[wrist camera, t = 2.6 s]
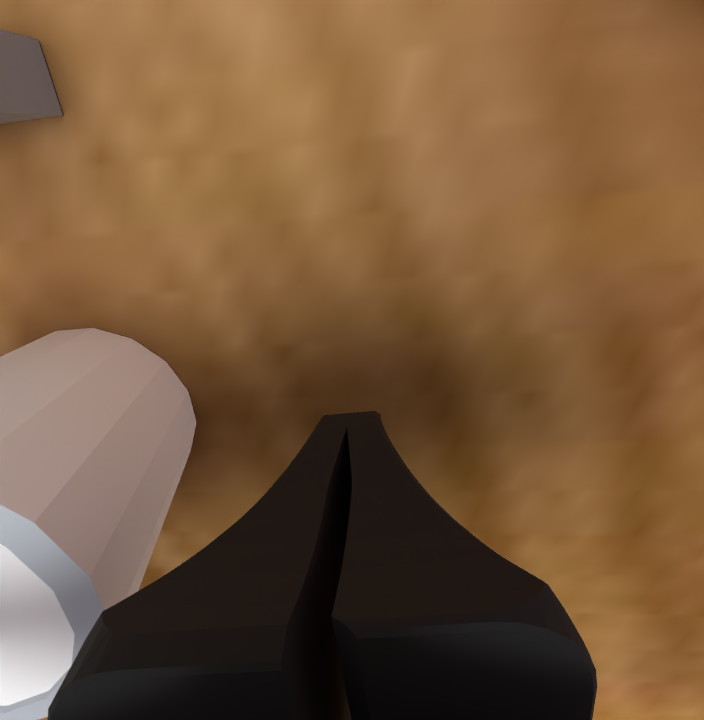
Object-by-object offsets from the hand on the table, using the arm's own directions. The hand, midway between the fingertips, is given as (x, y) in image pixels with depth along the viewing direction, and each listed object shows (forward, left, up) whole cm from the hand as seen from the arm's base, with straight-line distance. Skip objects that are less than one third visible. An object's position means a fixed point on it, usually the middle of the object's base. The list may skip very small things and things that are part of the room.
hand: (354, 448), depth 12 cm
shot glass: (0, +8, -3) cm, 8 cm away
